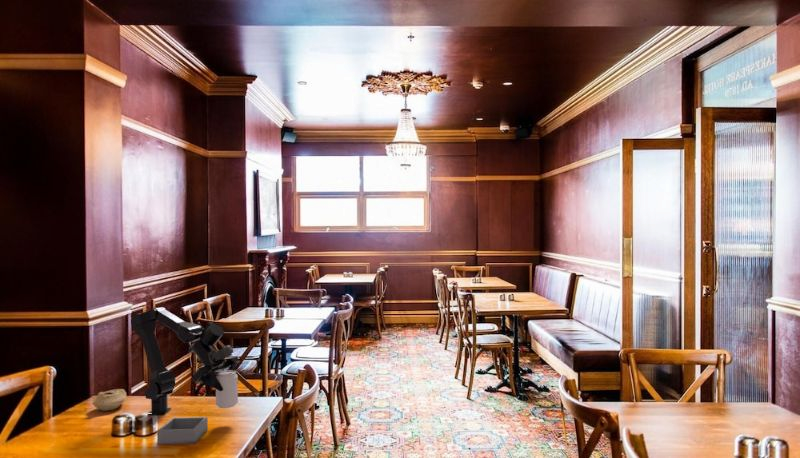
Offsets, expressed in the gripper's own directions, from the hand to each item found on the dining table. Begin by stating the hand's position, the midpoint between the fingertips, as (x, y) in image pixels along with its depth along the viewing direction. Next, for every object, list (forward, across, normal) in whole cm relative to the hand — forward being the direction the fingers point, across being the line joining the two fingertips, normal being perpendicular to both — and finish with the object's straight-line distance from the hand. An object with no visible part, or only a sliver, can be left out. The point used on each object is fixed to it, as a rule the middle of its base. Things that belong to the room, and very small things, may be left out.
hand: (229, 387), depth 185 cm
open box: (+5, -16, +14) cm, 21 cm away
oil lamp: (-31, -3, +50) cm, 59 cm away
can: (+4, 0, +6) cm, 7 cm away
